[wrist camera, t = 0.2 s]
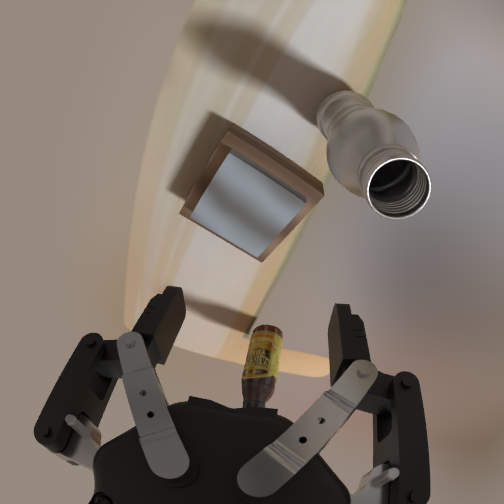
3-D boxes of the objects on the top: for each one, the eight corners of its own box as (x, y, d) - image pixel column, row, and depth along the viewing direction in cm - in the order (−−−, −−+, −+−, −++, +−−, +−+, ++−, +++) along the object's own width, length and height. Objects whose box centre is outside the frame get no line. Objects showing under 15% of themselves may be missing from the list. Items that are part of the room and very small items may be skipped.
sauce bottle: (274, 319, 52) (260, 419, 36) (288, 337, 55) (278, 429, 39) (245, 326, 54) (225, 419, 39) (260, 342, 57) (245, 429, 42)
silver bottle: (370, 142, 29) (441, 243, 13) (315, 140, 30) (332, 241, 15) (371, 90, 25) (464, 137, 9) (312, 87, 26) (336, 122, 11)
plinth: (234, 123, 30) (224, 134, 26) (322, 183, 33) (325, 201, 29) (187, 200, 38) (174, 219, 34) (264, 247, 41) (260, 269, 37)
